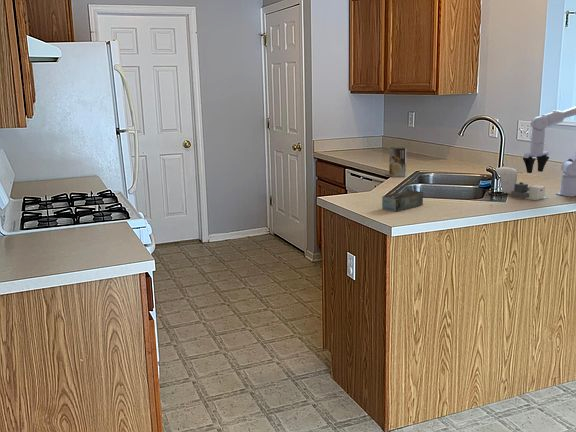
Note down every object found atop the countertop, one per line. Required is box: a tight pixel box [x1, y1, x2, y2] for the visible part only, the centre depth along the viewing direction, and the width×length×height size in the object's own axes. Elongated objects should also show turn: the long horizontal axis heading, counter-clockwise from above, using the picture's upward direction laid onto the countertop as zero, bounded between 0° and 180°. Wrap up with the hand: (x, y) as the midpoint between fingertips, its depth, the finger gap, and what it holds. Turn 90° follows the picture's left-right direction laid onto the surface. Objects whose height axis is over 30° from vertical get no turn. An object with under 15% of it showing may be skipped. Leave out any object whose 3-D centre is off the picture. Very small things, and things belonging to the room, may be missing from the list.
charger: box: [529, 184, 546, 199], centre depth 260 cm, size 4×5×5 cm
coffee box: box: [388, 146, 407, 178], centre depth 324 cm, size 9×6×16 cm
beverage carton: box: [381, 189, 424, 213], centre depth 245 cm, size 8×19×7 cm, turn 131°
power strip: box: [510, 181, 530, 200], centre depth 265 cm, size 14×7×7 cm, turn 119°
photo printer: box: [494, 166, 518, 195], centre depth 272 cm, size 10×4×12 cm, turn 60°
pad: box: [524, 196, 549, 201], centre depth 260 cm, size 9×5×1 cm, turn 119°
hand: (534, 172), depth 267 cm, fingers open, 7 cm apart
